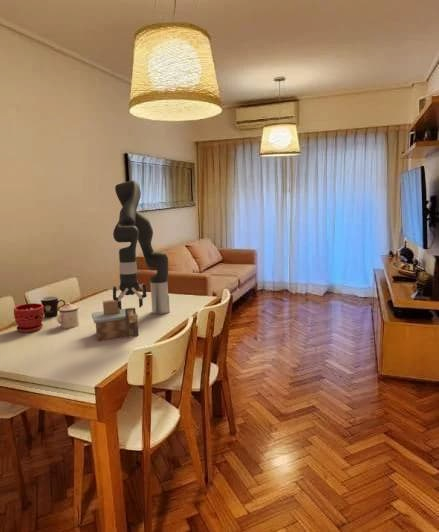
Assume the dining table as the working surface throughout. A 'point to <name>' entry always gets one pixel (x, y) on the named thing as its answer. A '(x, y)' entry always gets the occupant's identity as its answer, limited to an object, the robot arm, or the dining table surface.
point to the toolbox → (117, 328)
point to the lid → (110, 312)
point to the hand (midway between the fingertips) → (130, 308)
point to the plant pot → (29, 317)
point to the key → (132, 317)
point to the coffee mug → (50, 306)
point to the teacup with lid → (68, 316)
